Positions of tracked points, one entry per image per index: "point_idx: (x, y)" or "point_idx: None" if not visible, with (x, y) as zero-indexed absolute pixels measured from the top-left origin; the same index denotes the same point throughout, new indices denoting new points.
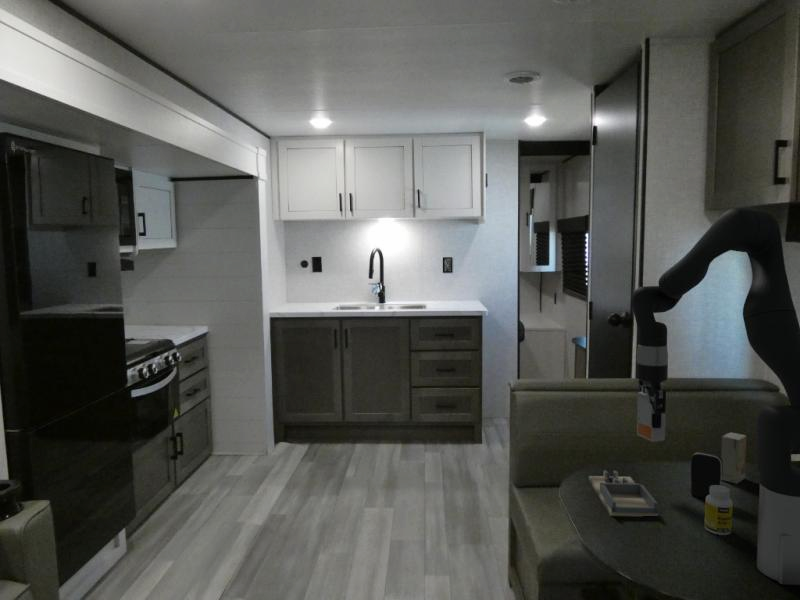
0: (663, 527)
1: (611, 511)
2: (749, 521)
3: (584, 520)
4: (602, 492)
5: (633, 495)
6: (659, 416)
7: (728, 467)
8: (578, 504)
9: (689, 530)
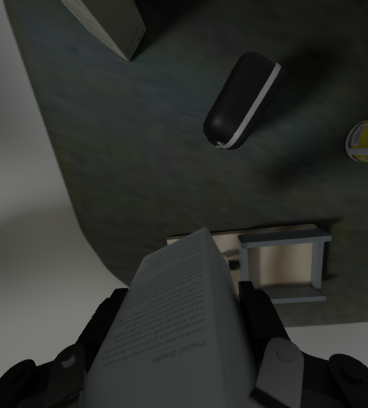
0: (350, 223)
1: None
2: (332, 67)
3: (323, 317)
4: None
5: (249, 249)
6: (287, 339)
7: (125, 26)
8: None
9: (363, 187)
